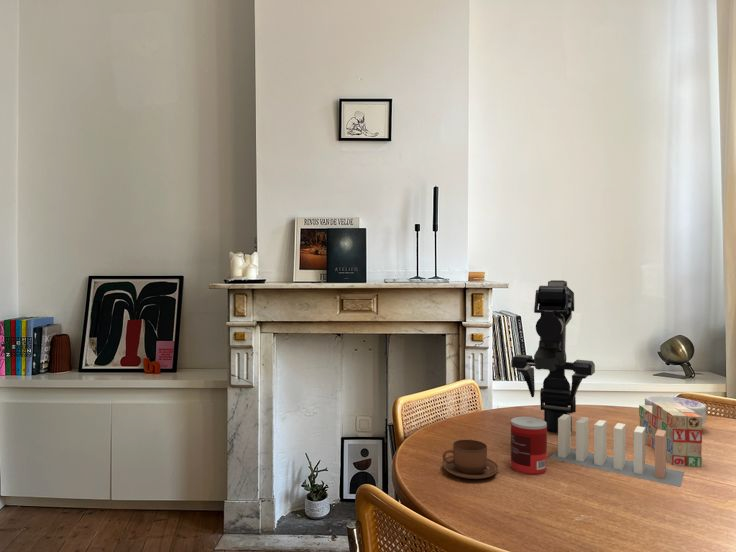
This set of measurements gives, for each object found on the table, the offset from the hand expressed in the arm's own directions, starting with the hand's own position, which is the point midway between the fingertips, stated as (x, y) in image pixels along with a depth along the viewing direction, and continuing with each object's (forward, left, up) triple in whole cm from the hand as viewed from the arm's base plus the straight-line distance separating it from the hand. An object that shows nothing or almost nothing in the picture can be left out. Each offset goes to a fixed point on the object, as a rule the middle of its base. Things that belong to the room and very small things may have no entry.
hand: (551, 399), depth 120 cm
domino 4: (+15, -1, -13) cm, 20 cm away
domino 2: (+7, -1, -13) cm, 15 cm away
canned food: (-1, -15, -13) cm, 20 cm away
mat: (+14, -1, -13) cm, 19 cm away
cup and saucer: (-11, -24, -14) cm, 29 cm away
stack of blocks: (+23, +19, -14) cm, 32 cm away
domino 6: (+23, -1, -13) cm, 26 cm away
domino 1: (+3, -1, -13) cm, 13 cm away
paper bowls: (+22, +44, -13) cm, 51 cm away
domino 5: (+19, -1, -13) cm, 23 cm away
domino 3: (+11, -1, -13) cm, 17 cm away
